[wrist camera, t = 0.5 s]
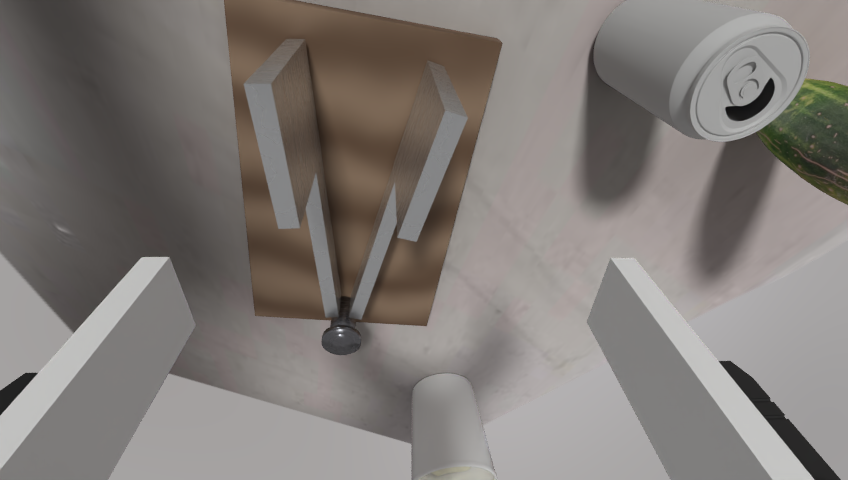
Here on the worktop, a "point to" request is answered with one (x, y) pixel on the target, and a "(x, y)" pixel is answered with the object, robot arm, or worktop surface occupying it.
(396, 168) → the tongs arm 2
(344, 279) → the walnut board
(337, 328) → the tongs hinge post
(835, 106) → the vegetable
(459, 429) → the candle holder
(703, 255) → the worktop surface
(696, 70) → the beverage can
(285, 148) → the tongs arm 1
